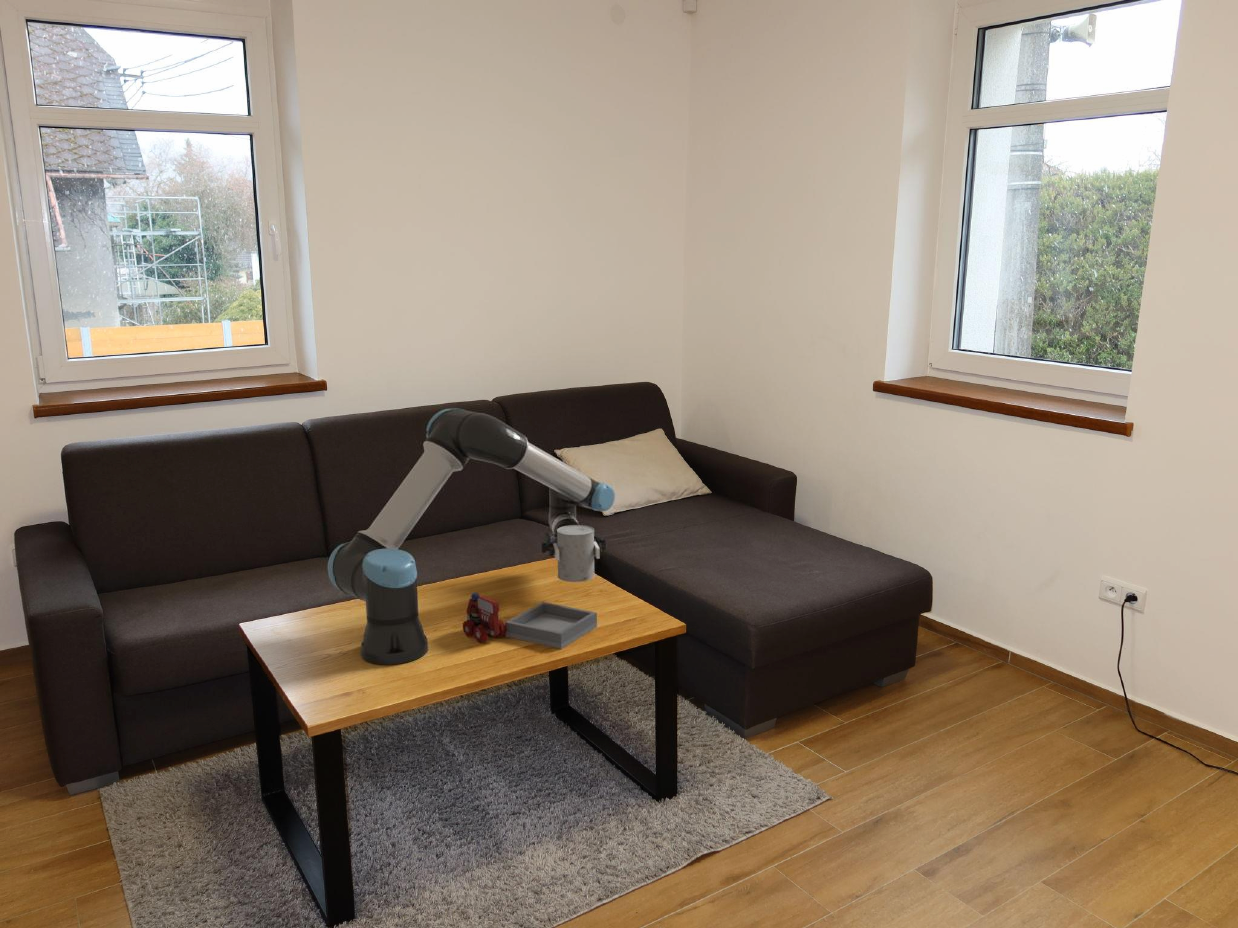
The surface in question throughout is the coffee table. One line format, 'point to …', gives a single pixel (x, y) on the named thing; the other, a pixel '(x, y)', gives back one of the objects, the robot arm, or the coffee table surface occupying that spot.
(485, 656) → the coffee table surface
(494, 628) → the toy fire truck
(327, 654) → the coffee table surface
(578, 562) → the grey speckled cylinder
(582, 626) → the tray
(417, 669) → the coffee table surface
